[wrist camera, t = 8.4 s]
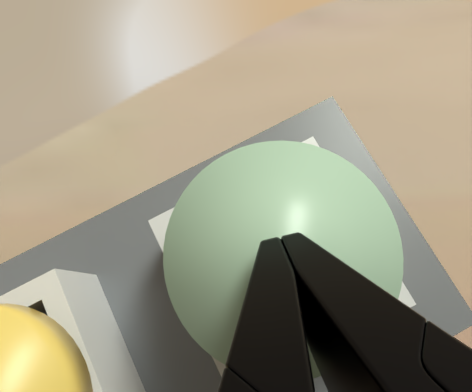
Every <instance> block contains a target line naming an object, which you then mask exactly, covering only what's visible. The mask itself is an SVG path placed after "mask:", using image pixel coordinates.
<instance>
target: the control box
mask: <svg viewBox="0 0 472 392" xmlns="http://www.w3.org/2000/svg"><path fill="white" fill-rule="evenodd" d="M283 140H284V141H295V142H302V143H306V144H311V145H315V146H318V147H321V148H323V149H326V150H329V151H331V152H333V153H335V154H337V155H339V156H341V157H342V158H344V159H345V160H347V161H349V162H350V163H352V164H353V165H354V166H356V167H357V168H358V169H359V170H360V171H362V172H363V173H364V174H365V175H366V176H367V177H368V178H369V179H370V180H371V181H372V182H373V183H374V185H375V186H376V187H377V188H378V190H379V191H380V193H381V194H382V195H383V197H384V198H385V200H386V202H387V204H388V205H389V207H390V209H391V211H392V213H393V216H394V218H395V221H396V223H397V226H398V229H399V233H400V237H401V241H402V249H403V279H402V286H401V291H400V294H399V298H398V300H400V301H401V302H403V303H404V304H406V305H407V306H408V307H410V308H411V309H413V310H414V311H416V312H417V313H419V314H420V315H422V316H423V317H425V318H426V322H427V321H431V322H432V323H434V324H435V325H437V326H438V327H439V328H441V329H442V330H444V331H445V332H447V333H448V334H450V335H451V336H454V335H456V334H458V333H460V332H461V331H463V330H465V329H467V328H468V327H470V326H472V311H471V310H470V308H469V306H468V305H467V303H466V302H465V300H464V299H463V297H462V296H461V294H460V293H459V291H458V289H457V288H456V286H455V285H454V283H453V282H452V280H451V279H450V277H449V276H448V274H447V272H446V271H445V269H444V268H443V266H442V265H441V263H440V262H439V260H438V259H437V257H436V256H435V254H434V252H433V251H432V249H431V248H430V246H429V245H428V243H427V242H426V240H425V239H424V237H423V235H422V234H421V232H420V231H419V229H418V228H417V226H416V225H415V223H414V222H413V220H412V218H411V217H410V215H409V214H408V212H407V211H406V209H405V208H404V206H403V205H402V203H401V201H400V200H399V198H398V197H397V195H396V194H395V192H394V191H393V189H392V188H391V186H390V184H389V183H388V181H387V180H386V178H385V177H384V175H383V174H382V172H381V171H380V169H379V167H378V166H377V164H376V163H375V161H374V160H373V158H372V157H371V155H370V154H369V152H368V151H367V149H366V147H365V146H364V144H363V143H362V141H361V140H360V138H359V137H358V135H357V134H356V132H355V130H354V129H353V127H352V126H351V124H350V123H349V121H348V120H347V118H346V117H345V115H344V113H343V112H342V110H341V109H340V107H339V106H338V104H337V103H336V101H335V100H334V98H333V96H332V97H330V98H328V99H326V100H324V101H322V102H321V103H319V104H317V105H315V106H313V107H311V108H309V109H307V110H305V111H303V112H301V113H299V114H297V115H295V116H293V117H291V118H289V119H287V120H285V121H283V122H281V123H279V124H277V125H275V126H273V127H271V128H269V129H267V130H265V131H263V132H261V133H259V134H257V135H255V136H253V137H251V138H249V139H247V140H245V141H243V142H241V143H239V144H237V145H235V146H233V147H231V148H230V149H228V150H226V151H224V152H222V153H220V154H218V155H216V156H214V157H212V158H210V159H208V160H206V161H204V162H202V163H200V164H198V165H196V166H194V167H192V168H190V169H188V170H186V171H184V172H182V173H180V174H178V175H176V176H174V177H172V178H170V179H168V180H166V181H164V182H162V183H160V184H158V185H156V186H154V187H152V188H150V189H148V190H146V191H144V192H142V193H140V194H139V195H137V196H135V197H133V198H131V199H129V200H127V201H125V202H123V203H121V204H119V205H117V206H115V207H113V208H111V209H109V210H107V211H105V212H103V213H101V214H99V215H97V216H95V217H93V218H91V219H89V220H87V221H85V222H83V223H81V224H79V225H77V226H75V227H73V228H71V229H69V230H67V231H65V232H63V233H61V234H59V235H57V236H55V237H53V238H51V239H49V240H48V241H46V242H44V243H42V244H40V245H38V246H36V247H34V248H32V249H30V250H28V251H26V252H24V253H22V254H20V255H18V256H16V257H14V258H12V259H10V260H8V261H6V262H4V263H2V264H0V304H6V303H8V304H16V305H22V306H26V307H29V308H33V309H35V310H37V311H40V312H42V313H44V314H46V315H47V316H49V317H50V318H52V319H54V320H55V321H56V322H57V323H58V324H60V325H61V326H62V327H63V328H64V329H65V330H66V331H67V332H68V333H69V335H70V336H71V337H72V338H73V339H74V341H75V343H76V344H77V346H78V347H79V349H80V351H81V353H82V355H83V357H84V359H85V361H86V364H87V367H88V370H89V373H90V377H91V383H92V388H93V392H217V391H218V388H219V384H220V381H221V377H222V374H223V370H224V369H225V368H226V367H225V365H224V364H223V363H221V362H219V361H218V360H216V359H215V358H214V357H212V356H211V355H210V354H209V353H207V352H206V351H205V350H204V349H203V348H202V347H201V346H200V345H199V344H198V343H197V342H196V341H195V340H194V339H193V338H192V337H191V335H190V334H189V333H188V331H187V330H186V329H185V327H184V326H183V324H182V323H181V321H180V319H179V317H178V316H177V314H176V312H175V310H174V308H173V305H172V302H171V300H170V297H169V295H168V290H167V286H166V282H165V277H164V268H163V247H164V241H165V234H166V230H167V226H168V223H169V219H170V217H171V214H172V212H173V210H174V207H175V205H176V203H177V201H178V200H179V198H180V196H181V195H182V193H183V191H184V190H185V189H186V188H187V186H188V185H189V184H190V182H191V181H192V180H193V179H194V178H195V177H196V176H197V175H198V174H199V173H200V172H201V171H202V170H203V169H204V168H205V167H207V166H208V165H209V164H211V163H212V162H213V161H215V160H216V159H218V158H220V157H221V156H223V155H225V154H226V153H229V152H231V151H233V150H236V149H238V148H240V147H244V146H247V145H250V144H254V143H260V142H266V141H283ZM313 381H314V387H315V392H328V390H327V388H326V386H325V383H324V381H323V379H322V376H320V377H316V378H313Z"/></svg>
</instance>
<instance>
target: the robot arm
mask: <svg viewBox="0 0 472 392" xmlns="http://www.w3.org/2000/svg"><path fill="white" fill-rule="evenodd" d="M307 343H308V345H307ZM308 346H309V348H310V351H311V353H312V356H313V358H314V360H315V362H316V365H317V367H318V369H319V372H320V374H321V376H322V379H323V381H324V383H325V386H326V388H327V390H328V392H472V349H471V348H470V347H468V346H467V345H465V344H464V343H462V342H461V341H459V340H457V339H456V338H454V337H453V336H451V335H450V334H448V333H447V332H445V331H444V330H442V329H441V328H439V327H438V326H437V325H435V324H434V323H432V322H431V321H427V322H426V318H425V317H423V316H422V315H420V314H419V313H417V312H416V311H414V310H413V309H411V308H410V307H408V306H407V305H406V304H404V303H403V302H401V301H400V300H398V299H397V298H395V297H394V296H392V295H391V294H389V293H388V292H387V291H385V290H384V289H382V288H381V287H379V286H378V285H376V284H375V283H373V282H372V281H371V280H369V279H368V278H366V277H365V276H363V275H362V274H360V273H359V272H357V271H356V270H354V269H353V268H352V267H350V266H349V265H347V264H346V263H344V262H343V261H341V260H340V259H338V258H337V257H335V256H334V255H333V254H331V253H330V252H328V251H327V250H325V249H324V248H322V247H321V246H319V245H318V244H317V243H315V242H314V241H312V240H311V239H309V238H308V237H306V236H305V235H303V234H302V233H299V232H296V233H292V234H288V235H283V236H282V237H281V239H280V238H279V237H274V238H270V239H266V240H262V241H261V242H260V244H259V248H258V251H257V255H256V258H255V262H254V265H253V269H252V272H251V276H250V279H249V283H248V287H247V290H246V294H245V297H244V301H243V304H242V308H241V311H240V315H239V318H238V322H237V325H236V329H235V332H234V336H233V339H232V343H231V346H230V350H229V353H228V357H227V361H226V364H225V367H226V368H225V369H224V370H223V374H222V377H221V381H220V384H219V388H218V391H217V392H315V387H314V381H313V375H312V369H311V363H310V357H309V351H308Z"/></svg>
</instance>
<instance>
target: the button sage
mask: <svg viewBox="0 0 472 392" xmlns="http://www.w3.org/2000/svg"><path fill="white" fill-rule="evenodd" d="M296 232H299V233H302V234H303V235H305V236H306V237H308V238H309V239H311V240H312V241H314V242H315V243H317V244H318V245H319V246H321V247H322V248H324V249H325V250H327V251H328V252H330V253H331V254H333V255H334V256H335V257H337V258H338V259H340V260H341V261H343V262H344V263H346V264H347V265H349V266H350V267H352V268H353V269H354V270H356V271H357V272H359V273H360V274H362V275H363V276H365V277H366V278H368V279H369V280H371V281H372V282H373V283H375V284H376V285H378V286H379V287H381V288H382V289H384V290H385V291H387V292H388V293H389V294H391V295H392V296H394V297H395V298H397V299H398V298H399V294H400V291H401V286H402V279H403V249H402V241H401V237H400V233H399V229H398V226H397V223H396V221H395V218H394V216H393V213H392V211H391V209H390V207H389V205H388V204H387V202H386V200H385V198H384V197H383V195H382V194H381V193H380V191H379V190H378V188H377V187H376V186H375V185H374V183H373V182H372V181H371V180H370V179H369V178H368V177H367V176H366V175H365V174H364V173H363V172H362V171H360V170H359V169H358V168H357V167H356V166H354V165H353V164H352V163H350V162H349V161H347V160H345V159H344V158H342V157H341V156H339V155H337V154H335V153H333V152H331V151H329V150H326V149H323V148H321V147H318V146H315V145H311V144H306V143H302V142H295V141H284V140H283V141H266V142H260V143H254V144H250V145H247V146H244V147H240V148H238V149H236V150H233V151H231V152H229V153H226V154H225V155H223V156H221V157H220V158H218V159H216V160H215V161H213V162H212V163H211V164H209V165H208V166H207V167H205V168H204V169H203V170H202V171H201V172H200V173H199V174H198V175H197V176H196V177H195V178H194V179H193V180H192V181H191V182H190V184H189V185H188V186H187V188H186V189H185V190H184V191H183V193H182V195H181V196H180V198H179V200H178V201H177V203H176V205H175V207H174V210H173V212H172V214H171V217H170V219H169V223H168V226H167V230H166V234H165V241H164V247H163V268H164V277H165V282H166V286H167V290H168V295H169V297H170V300H171V302H172V305H173V308H174V310H175V312H176V314H177V316H178V317H179V319H180V321H181V323H182V324H183V326H184V327H185V329H186V330H187V331H188V333H189V334H190V335H191V337H192V338H193V339H194V340H195V341H196V342H197V343H198V344H199V345H200V346H201V347H202V348H203V349H204V350H205V351H206V352H207V353H209V354H210V355H211V356H212V357H214V358H215V359H216V360H218V361H219V362H221V363H223V364H224V365H225V364H226V361H227V357H228V353H229V350H230V346H231V343H232V339H233V336H234V332H235V329H236V325H237V322H238V318H239V315H240V311H241V308H242V304H243V301H244V297H245V294H246V290H247V287H248V283H249V279H250V276H251V272H252V269H253V265H254V262H255V258H256V255H257V251H258V248H259V244H260V242H261V241H262V240H266V239H270V238H274V237H279V238H280V239H281V237H282V236H283V235H288V234H292V233H296ZM307 345H308V343H307ZM308 351H309V357H310V363H311V369H312V375H313V378H316V377H320V376H321V374H320V372H319V369H318V367H317V365H316V362H315V360H314V358H313V356H312V353H311V351H310V348H309V346H308Z"/></svg>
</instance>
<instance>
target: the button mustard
mask: <svg viewBox="0 0 472 392" xmlns="http://www.w3.org/2000/svg"><path fill="white" fill-rule="evenodd" d="M0 392H93V388H92V383H91V377H90V373H89V370H88V367H87V364H86V361H85V359H84V357H83V355H82V353H81V351H80V349H79V347H78V346H77V344H76V343H75V341H74V339H73V338H72V337H71V336H70V335H69V333H68V332H67V331H66V330H65V329H64V328H63V327H62V326H61V325H60V324H58V323H57V322H56V321H55V320H54V319H52V318H50V317H49V316H47V315H46V314H44V313H42V312H40V311H37V310H35V309H33V308H29V307H26V306H22V305H16V304H8V303H6V304H0Z"/></svg>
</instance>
